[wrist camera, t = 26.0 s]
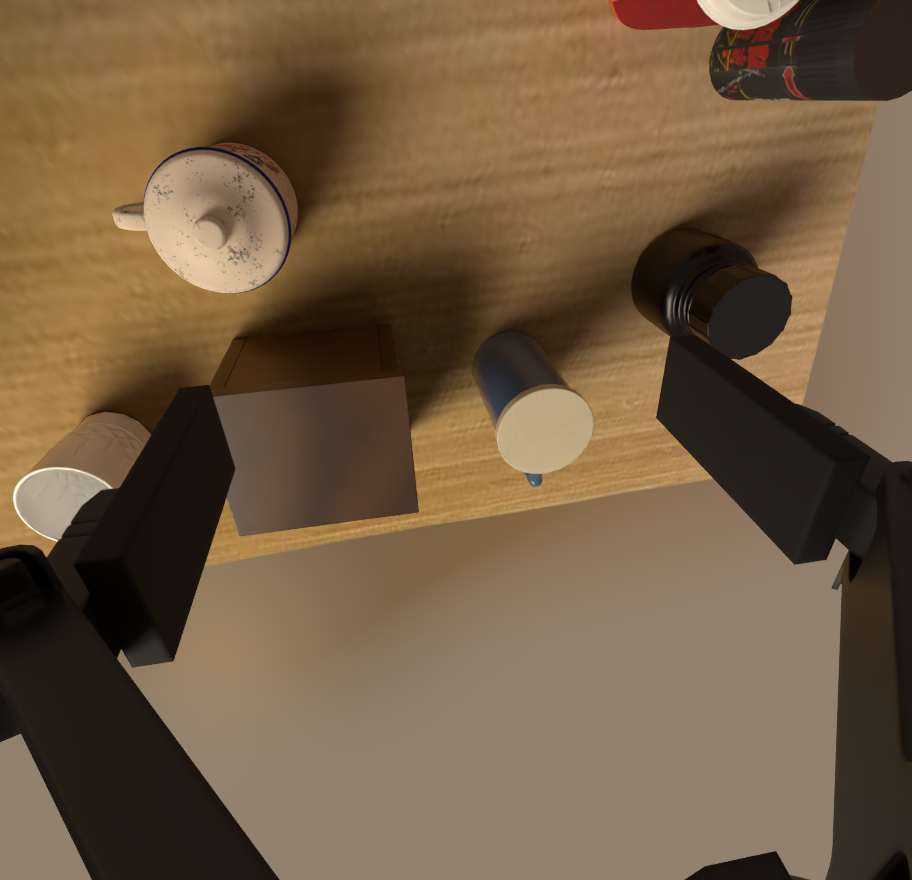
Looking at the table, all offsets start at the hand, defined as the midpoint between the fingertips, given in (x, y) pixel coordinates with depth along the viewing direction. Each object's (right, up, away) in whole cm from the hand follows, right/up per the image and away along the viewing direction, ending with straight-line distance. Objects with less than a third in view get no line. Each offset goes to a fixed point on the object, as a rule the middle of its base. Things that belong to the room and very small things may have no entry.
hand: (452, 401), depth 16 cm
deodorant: (+23, +29, +28) cm, 46 cm away
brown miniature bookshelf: (-12, +4, +37) cm, 39 cm away
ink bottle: (+21, +14, +36) cm, 44 cm away
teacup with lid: (-18, +17, +27) cm, 37 cm away
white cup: (-32, -1, +36) cm, 49 cm away
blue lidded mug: (+5, +5, +39) cm, 40 cm away
